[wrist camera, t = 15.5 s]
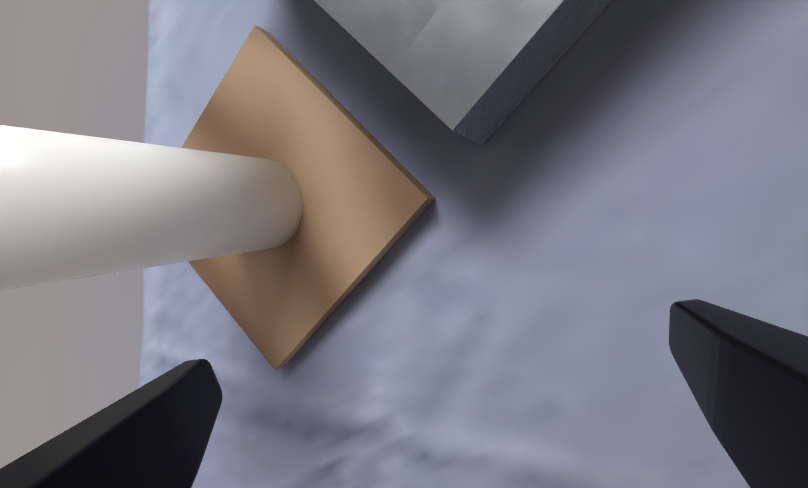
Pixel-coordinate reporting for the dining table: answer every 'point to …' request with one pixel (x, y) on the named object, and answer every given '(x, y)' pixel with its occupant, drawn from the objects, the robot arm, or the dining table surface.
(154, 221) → the dome-capped cylinder
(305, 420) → the dining table surface
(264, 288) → the pad
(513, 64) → the collar
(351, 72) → the dining table surface
